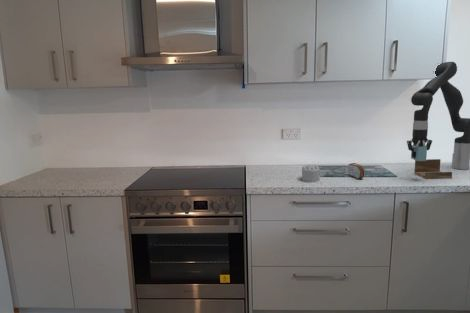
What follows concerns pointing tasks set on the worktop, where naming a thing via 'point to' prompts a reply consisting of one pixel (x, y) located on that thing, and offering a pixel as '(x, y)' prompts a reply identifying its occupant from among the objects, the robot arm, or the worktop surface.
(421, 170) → the wall rack
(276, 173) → the worktop surface
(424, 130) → the robot arm
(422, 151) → the cabinet block
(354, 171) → the grey brown half-round slab
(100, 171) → the worktop surface
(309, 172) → the lumpy-topped squat cylinder
